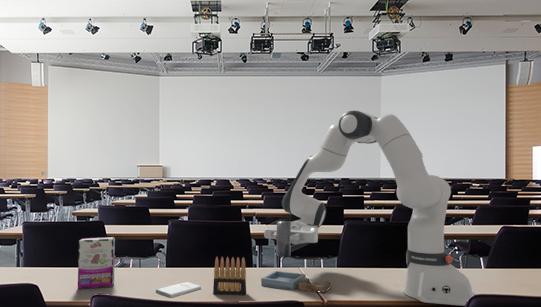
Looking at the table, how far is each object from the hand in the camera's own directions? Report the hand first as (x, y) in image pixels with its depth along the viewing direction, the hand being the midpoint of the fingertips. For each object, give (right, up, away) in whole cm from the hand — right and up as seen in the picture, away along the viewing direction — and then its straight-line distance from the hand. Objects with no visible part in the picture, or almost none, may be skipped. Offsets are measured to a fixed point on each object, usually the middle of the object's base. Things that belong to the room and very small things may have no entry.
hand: (282, 237), depth 137 cm
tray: (0, -16, 0) cm, 16 cm away
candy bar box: (-65, -16, -5) cm, 67 cm away
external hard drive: (-35, -16, -9) cm, 40 cm away
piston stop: (0, -7, +1) cm, 7 cm away
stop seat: (+11, -16, -5) cm, 20 cm away
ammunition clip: (-18, -16, -13) cm, 27 cm away
